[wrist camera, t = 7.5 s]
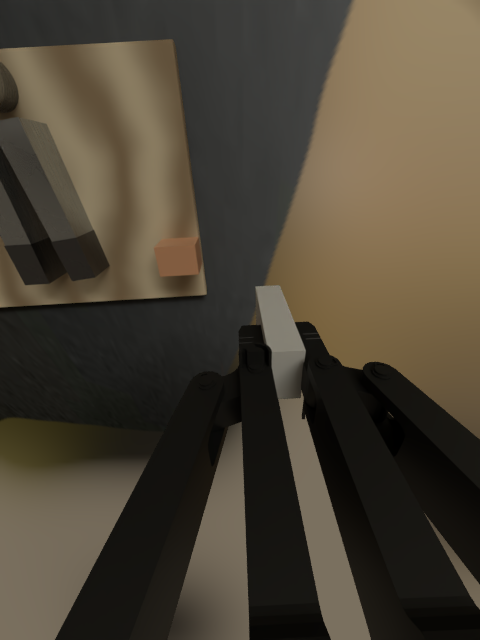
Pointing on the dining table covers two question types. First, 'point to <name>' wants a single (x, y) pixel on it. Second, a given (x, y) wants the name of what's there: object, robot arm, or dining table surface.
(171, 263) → the orange block
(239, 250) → the dining table surface
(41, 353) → the dining table surface
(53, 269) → the tongs fixed
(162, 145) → the board
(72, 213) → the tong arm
